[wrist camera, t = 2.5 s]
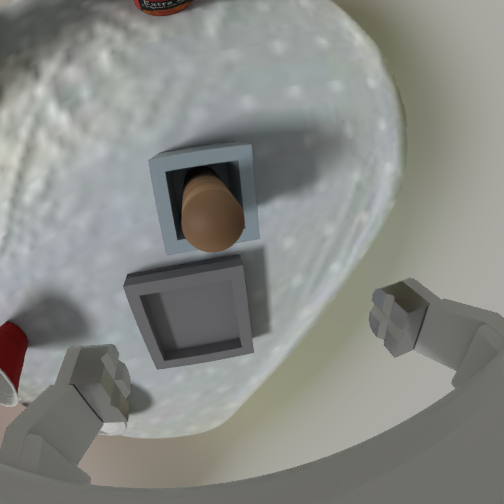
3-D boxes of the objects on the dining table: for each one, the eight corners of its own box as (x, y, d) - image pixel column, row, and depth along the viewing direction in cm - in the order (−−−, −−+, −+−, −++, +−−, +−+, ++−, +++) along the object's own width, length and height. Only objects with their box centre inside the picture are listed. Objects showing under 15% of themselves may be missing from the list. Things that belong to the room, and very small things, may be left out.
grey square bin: (159, 153, 28) (148, 160, 20) (233, 141, 29) (251, 144, 21) (171, 223, 32) (166, 255, 24) (241, 211, 33) (259, 238, 25)
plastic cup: (24, 308, 31) (-7, 360, 20) (48, 359, 35) (29, 411, 24) (-17, 307, 28) (-48, 351, 18) (7, 355, 33) (-14, 400, 22)
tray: (127, 274, 33) (123, 286, 30) (238, 254, 35) (243, 265, 33) (157, 355, 39) (157, 369, 36) (249, 339, 42) (253, 352, 39)
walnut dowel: (181, 169, 29) (176, 197, 16) (217, 163, 29) (241, 186, 17) (186, 204, 30) (187, 257, 18) (221, 198, 31) (247, 246, 18)
